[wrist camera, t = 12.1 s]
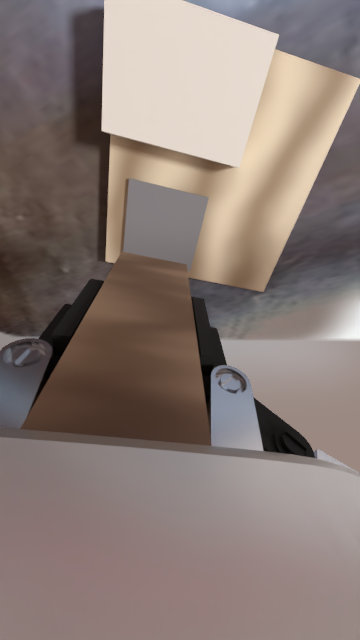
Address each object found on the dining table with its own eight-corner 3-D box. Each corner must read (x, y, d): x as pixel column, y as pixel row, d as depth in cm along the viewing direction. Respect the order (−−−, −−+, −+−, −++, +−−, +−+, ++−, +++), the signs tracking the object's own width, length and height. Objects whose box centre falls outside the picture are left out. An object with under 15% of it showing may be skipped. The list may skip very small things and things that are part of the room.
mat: (208, 197, 24) (208, 197, 23) (190, 269, 28) (190, 271, 28) (129, 178, 23) (129, 178, 22) (123, 256, 27) (122, 257, 27)
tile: (279, 35, 16) (104, -28, 15) (239, 167, 21) (101, 130, 19) (269, 47, 18) (112, -8, 16) (234, 167, 22) (107, 133, 21)
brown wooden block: (186, 264, 13) (237, 630, 3) (173, 316, 15) (177, 645, 5) (121, 251, 12) (-102, 640, 2) (117, 307, 14) (-15, 653, 4)
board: (352, 83, 20) (361, 79, 19) (260, 287, 31) (263, 292, 30) (119, 3, 18) (116, -7, 16) (107, 258, 28) (105, 261, 27)
